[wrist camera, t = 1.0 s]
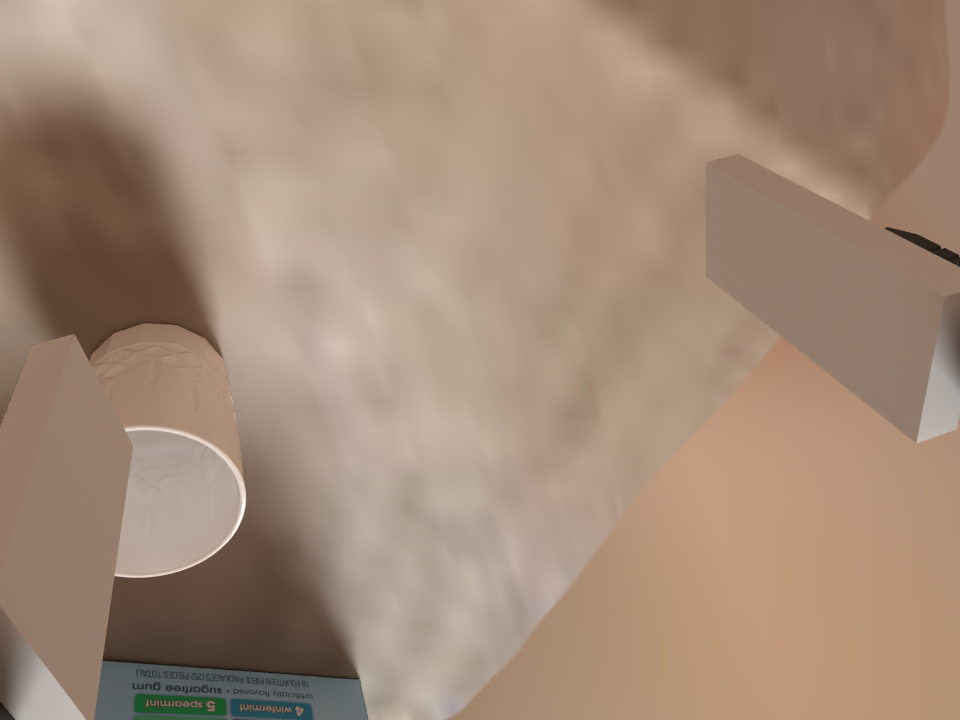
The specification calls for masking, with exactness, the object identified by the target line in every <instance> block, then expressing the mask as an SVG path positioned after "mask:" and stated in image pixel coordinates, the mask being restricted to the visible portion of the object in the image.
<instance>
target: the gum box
mask: <svg viewBox="0 0 960 720" xmlns="http://www.w3.org/2000/svg"><path fill="white" fill-rule="evenodd" d="M94 720H368V715H367V710H366V705H365V701H364V697H363V692H362V687H361V681H360V680H359V679H343V678H330V677H316V676H302V675H289V674H276V673H262V672H249V671H236V670H223V669H208V668H195V667H182V666H169V665H154V664H139V663H126V662H114V661H102V667H101V674H100V681H99V688H98V695H97V702H96V709H95V716H94Z"/></svg>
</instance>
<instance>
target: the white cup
mask: <svg viewBox="0 0 960 720" xmlns="http://www.w3.org/2000/svg"><path fill="white" fill-rule="evenodd" d="M89 363H90V364H91V366H92V368H93V370H94V372H95V374H96V376H97V378H98V380H99V382H100V384H101V385H102V387H103V389H104V391H105V393H106V395H107V397H108V399H109V401H110V403H111V404H112V406H113V408H114V410H115V412H116V414H117V416H118V418H119V420H120V422H121V424H122V425H123V427H124V429H125V431H126V433H127V435H128V437H129V439H130V441H131V443H132V444H133V450H132V457H131V464H130V471H129V478H128V485H127V492H126V499H125V506H124V513H123V520H122V527H121V534H120V541H119V548H118V555H117V562H116V569H115V576H119V577H131V578H143V577H155V576H162V575H167V574H171V573H175V572H179V571H182V570H185V569H187V568H190V567H192V566H194V565H197V564H199V563H201V562H202V561H204V560H206V559H207V558H209V557H211V556H212V555H213V554H215V553H216V552H217V551H219V550H220V549H221V548H222V547H223V546H224V545H225V544H226V543H227V542H228V541H229V540H230V539H231V538H232V536H233V535H234V534H235V532H236V530H237V529H238V527H239V525H240V523H241V521H242V518H243V515H244V512H245V507H246V489H245V482H244V474H243V466H242V458H241V450H240V442H239V433H238V428H237V424H236V415H235V411H234V405H233V398H232V396H231V394H230V392H229V385H228V380H227V375H226V370H225V365H224V360H223V359H222V358H221V356H220V355H219V354H218V353H217V352H216V350H215V349H214V348H213V347H212V346H211V345H210V343H209V342H208V341H207V340H206V339H205V338H203V337H201V336H199V335H197V334H195V333H193V332H191V331H189V330H186V329H184V328H182V327H180V326H178V325H168V324H151V323H143V324H140V325H137V326H134V327H131V328H128V329H125V330H122V331H119V332H116V333H113V334H112V335H111V336H110V337H109V338H108V339H107V340H106V341H105V342H104V343H103V344H102V345H101V346H99V347H98V348H97V349H96V350H95V351H94V352H93V353H92V355H91V357H90V360H89Z"/></svg>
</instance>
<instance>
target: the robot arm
mask: <svg viewBox="0 0 960 720" xmlns="http://www.w3.org/2000/svg"><path fill="white" fill-rule="evenodd" d="M706 277H707V278H708V279H710V280H711V281H712V282H713V283H715V284H716V285H717V286H718V287H720V288H721V289H722V290H723V291H725V292H726V293H727V294H729V295H730V296H731V297H732V298H734V299H735V300H736V301H737V302H739V303H740V304H741V305H742V306H744V307H745V308H746V309H747V310H749V311H750V312H751V313H753V314H754V315H755V316H756V317H758V318H759V319H760V320H761V321H763V322H764V323H765V324H766V325H768V326H769V327H770V328H771V329H773V330H774V331H775V332H777V333H778V334H779V335H780V336H782V337H783V338H784V339H785V340H787V341H788V342H789V343H790V344H792V345H793V346H794V347H795V348H797V349H798V350H799V351H801V352H802V353H803V354H804V355H806V356H807V357H808V358H809V359H811V360H812V361H813V362H814V363H816V364H817V365H818V366H820V367H821V368H822V369H823V370H824V371H826V372H827V373H828V374H830V375H831V376H832V377H833V378H835V379H836V380H837V381H838V382H840V383H841V384H842V385H843V386H845V387H846V388H847V389H849V390H850V391H851V392H852V393H854V394H855V395H856V396H857V397H859V398H860V399H861V400H862V401H864V402H865V403H866V404H867V405H869V406H870V407H871V408H872V409H874V410H875V411H876V412H878V413H879V414H880V415H881V416H883V417H884V418H885V419H886V420H888V421H889V422H890V423H891V424H893V425H894V426H895V427H897V428H898V429H899V430H900V431H901V432H903V433H904V434H905V435H907V436H908V437H909V438H910V439H912V440H913V441H914V442H915V443H919V442H922V441H924V440H927V439H930V438H933V437H936V436H939V435H942V434H945V433H948V432H950V431H953V430H956V429H957V425H958V421H959V417H960V257H959V255H958V254H956V253H954V252H952V251H950V250H948V249H946V248H944V249H941V247H940V245H938V244H936V243H934V242H932V241H930V240H928V239H926V238H924V237H921V236H920V235H917V234H913V233H909V232H905V231H901V230H897V229H893V228H889V227H887V228H882V227H880V226H878V225H876V224H874V223H872V222H870V221H868V220H866V219H864V218H863V217H861V216H859V215H857V214H855V213H853V212H851V211H849V210H847V209H845V208H843V207H841V206H839V205H837V204H835V203H833V202H831V201H829V200H827V199H825V198H823V197H821V196H819V195H817V194H815V193H814V192H812V191H810V190H808V189H806V188H804V187H802V186H800V185H798V184H796V183H794V182H792V181H790V180H788V179H786V178H784V177H782V176H780V175H778V174H776V173H774V172H772V171H770V170H768V169H766V168H765V167H763V166H761V165H759V164H757V163H755V162H753V161H751V160H749V159H747V158H745V157H743V156H741V155H739V154H737V155H734V156H730V157H726V158H722V159H719V160H715V161H711V162H708V163H706ZM132 450H133V444H132V443H131V441H130V439H129V437H128V435H127V433H126V431H125V429H124V427H123V425H122V424H121V422H120V420H119V418H118V416H117V414H116V412H115V410H114V408H113V406H112V404H111V403H110V401H109V399H108V397H107V395H106V393H105V391H104V389H103V387H102V385H101V384H100V382H99V380H98V378H97V376H96V374H95V372H94V370H93V368H92V366H91V364H90V363H89V361H88V359H87V357H86V355H85V353H84V351H83V349H82V347H81V345H80V343H79V342H78V340H77V338H76V336H75V334H72V335H68V336H65V337H61V338H57V339H54V340H50V341H46V342H42V343H39V344H35V345H32V347H31V350H30V352H29V355H28V357H27V360H26V362H25V365H24V368H23V370H22V373H21V375H20V378H19V380H18V383H17V385H16V388H15V390H14V393H13V396H12V398H11V401H10V403H9V406H8V408H7V411H6V413H5V416H4V418H3V421H2V424H1V426H0V720H94V716H95V709H96V702H97V695H98V688H99V681H100V674H101V667H102V660H103V653H104V646H105V639H106V632H107V625H108V618H109V611H110V604H111V597H112V590H113V583H114V576H115V569H116V562H117V555H118V548H119V541H120V534H121V527H122V520H123V513H124V506H125V499H126V492H127V485H128V478H129V471H130V464H131V457H132Z"/></svg>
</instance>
